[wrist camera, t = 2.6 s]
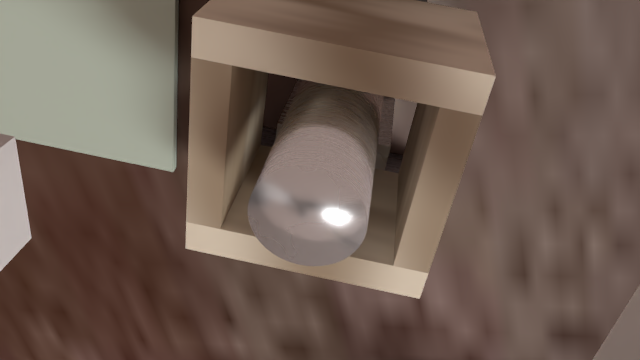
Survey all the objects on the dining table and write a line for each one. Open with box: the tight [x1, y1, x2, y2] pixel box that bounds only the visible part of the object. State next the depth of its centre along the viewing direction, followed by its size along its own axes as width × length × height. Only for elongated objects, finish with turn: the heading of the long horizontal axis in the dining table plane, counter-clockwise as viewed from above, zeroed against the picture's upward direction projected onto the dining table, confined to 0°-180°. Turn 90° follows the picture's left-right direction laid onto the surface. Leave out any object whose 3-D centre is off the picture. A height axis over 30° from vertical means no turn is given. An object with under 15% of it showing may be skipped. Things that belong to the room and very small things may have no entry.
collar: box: [186, 0, 496, 299], centre depth 17 cm, size 7×7×5 cm
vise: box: [248, 0, 427, 266], centre depth 17 cm, size 8×18×11 cm, turn 171°
